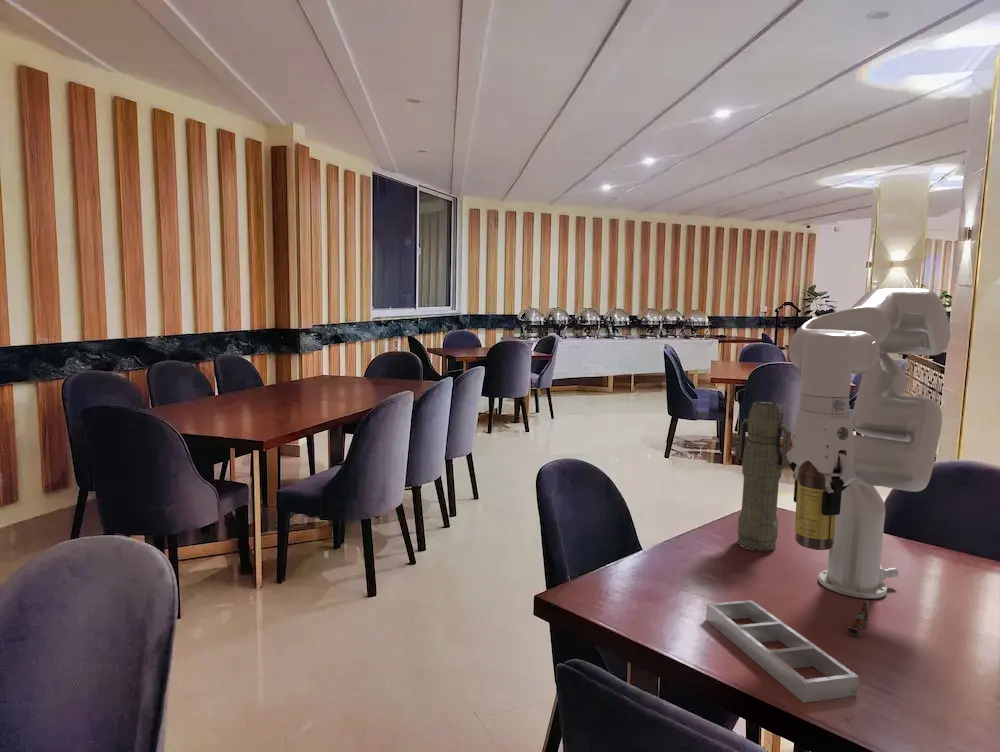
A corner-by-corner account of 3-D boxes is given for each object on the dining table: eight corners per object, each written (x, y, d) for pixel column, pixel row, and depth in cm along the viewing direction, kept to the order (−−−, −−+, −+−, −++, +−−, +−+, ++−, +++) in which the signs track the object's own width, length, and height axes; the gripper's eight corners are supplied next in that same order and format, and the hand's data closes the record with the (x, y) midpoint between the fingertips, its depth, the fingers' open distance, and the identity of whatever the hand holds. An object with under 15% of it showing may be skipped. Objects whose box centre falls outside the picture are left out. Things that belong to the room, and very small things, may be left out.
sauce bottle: (814, 536, 119) (822, 427, 116) (842, 549, 113) (851, 434, 111) (785, 540, 117) (792, 429, 115) (811, 553, 111) (820, 436, 109)
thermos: (775, 556, 153) (787, 407, 150) (725, 543, 161) (735, 401, 157) (787, 547, 160) (798, 403, 156) (739, 535, 167) (748, 398, 164)
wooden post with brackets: (873, 618, 121) (872, 599, 119) (859, 648, 116) (858, 629, 115) (862, 614, 122) (861, 596, 121) (848, 645, 118) (847, 626, 116)
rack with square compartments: (750, 615, 122) (751, 599, 122) (857, 695, 97) (858, 676, 97) (706, 619, 120) (707, 603, 120) (803, 702, 95) (805, 683, 95)
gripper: (882, 413, 105) (873, 523, 107) (807, 397, 121) (800, 492, 123) (842, 414, 103) (833, 526, 105) (772, 398, 119) (765, 494, 122)
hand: (816, 507), depth 114 cm, fingers closed on sauce bottle, 6 cm apart
